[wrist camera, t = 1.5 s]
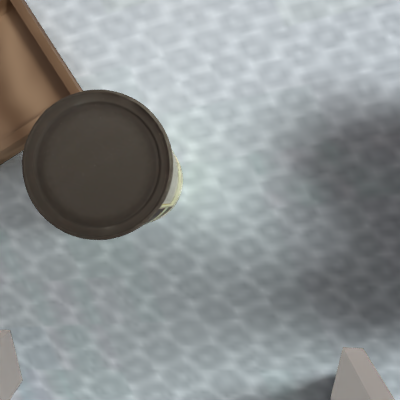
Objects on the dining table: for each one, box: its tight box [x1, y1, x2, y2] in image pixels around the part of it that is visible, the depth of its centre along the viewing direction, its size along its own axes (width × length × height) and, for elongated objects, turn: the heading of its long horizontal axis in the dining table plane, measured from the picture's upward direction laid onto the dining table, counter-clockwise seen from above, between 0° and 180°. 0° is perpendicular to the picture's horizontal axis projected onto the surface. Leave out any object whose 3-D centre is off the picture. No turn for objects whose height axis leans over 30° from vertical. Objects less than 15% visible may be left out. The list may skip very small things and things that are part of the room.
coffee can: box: [22, 90, 183, 240], centre depth 26 cm, size 10×10×14 cm
